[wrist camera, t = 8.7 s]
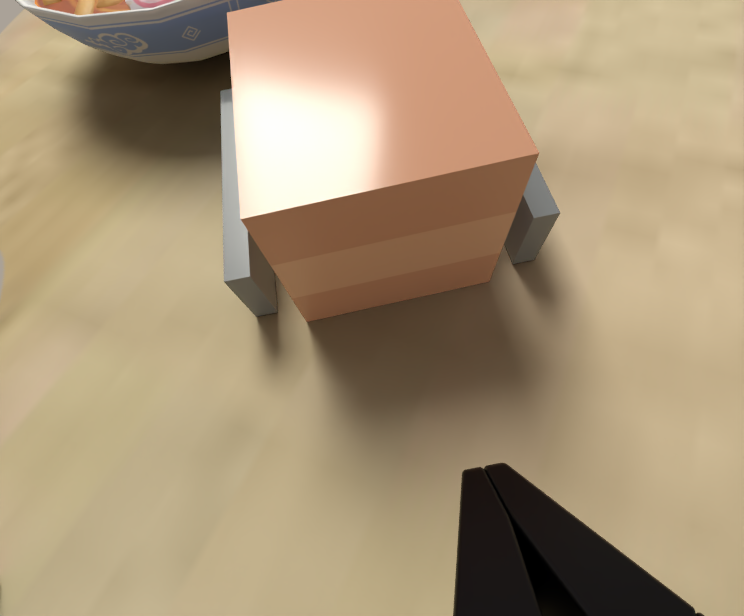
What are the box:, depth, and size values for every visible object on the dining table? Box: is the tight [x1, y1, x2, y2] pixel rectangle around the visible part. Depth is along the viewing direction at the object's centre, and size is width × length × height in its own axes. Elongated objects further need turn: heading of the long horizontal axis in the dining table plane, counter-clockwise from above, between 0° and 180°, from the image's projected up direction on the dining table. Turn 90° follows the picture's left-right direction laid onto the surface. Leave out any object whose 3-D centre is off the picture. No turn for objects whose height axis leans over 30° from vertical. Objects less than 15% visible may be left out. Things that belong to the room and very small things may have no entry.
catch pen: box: [220, 89, 560, 317], centre depth 22 cm, size 13×15×4 cm
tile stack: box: [227, 0, 539, 322], centre depth 19 cm, size 12×10×9 cm
